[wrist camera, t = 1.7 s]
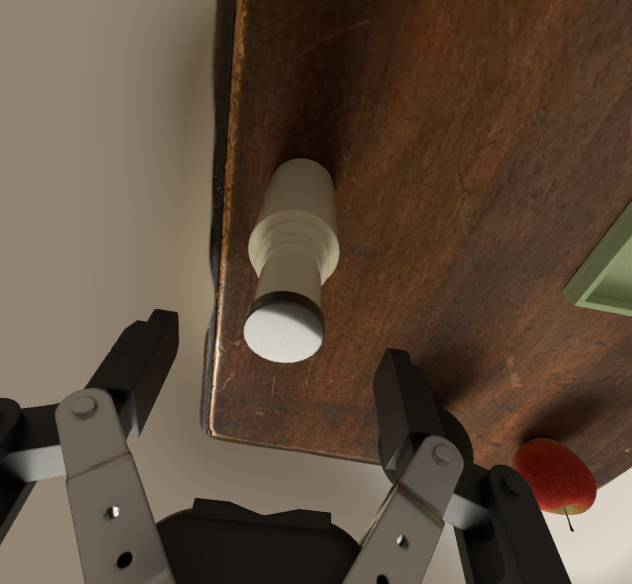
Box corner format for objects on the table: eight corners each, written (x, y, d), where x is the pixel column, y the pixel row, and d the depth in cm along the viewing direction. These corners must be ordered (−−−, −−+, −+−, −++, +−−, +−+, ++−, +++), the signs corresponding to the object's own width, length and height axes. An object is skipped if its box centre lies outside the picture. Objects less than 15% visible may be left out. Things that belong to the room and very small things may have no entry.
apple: (581, 434, 45) (638, 520, 37) (535, 464, 50) (576, 547, 42) (533, 418, 44) (581, 506, 35) (489, 451, 48) (523, 535, 40)
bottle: (273, 151, 25) (223, 271, 12) (341, 166, 26) (361, 296, 13) (265, 215, 28) (217, 367, 15) (326, 227, 29) (330, 384, 16)
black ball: (423, 371, 39) (450, 460, 31) (472, 410, 43) (508, 498, 35) (356, 411, 43) (364, 497, 35) (406, 443, 47) (424, 527, 39)
